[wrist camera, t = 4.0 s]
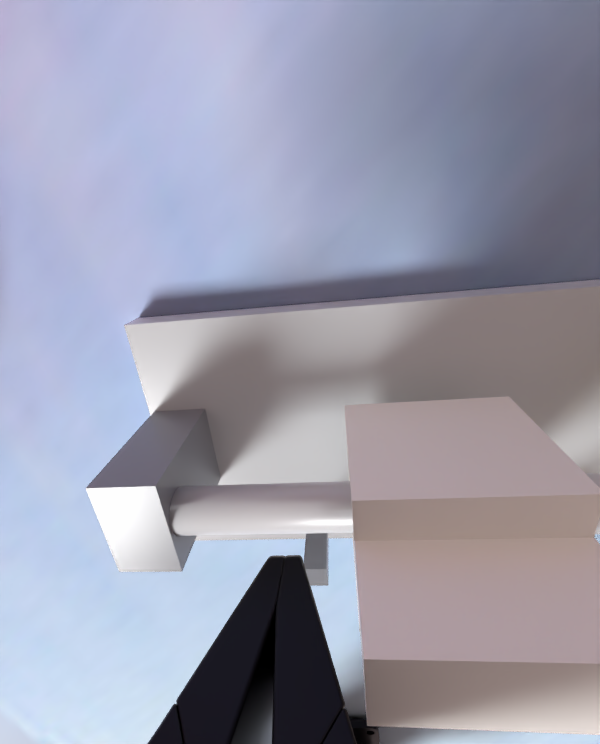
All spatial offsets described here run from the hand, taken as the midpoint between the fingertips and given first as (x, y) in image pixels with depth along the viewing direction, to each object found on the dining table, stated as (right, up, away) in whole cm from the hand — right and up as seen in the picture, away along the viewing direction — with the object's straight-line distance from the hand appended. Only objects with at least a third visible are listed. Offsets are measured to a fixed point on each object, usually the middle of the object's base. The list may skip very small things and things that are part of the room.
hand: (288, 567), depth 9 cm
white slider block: (+4, +2, +3) cm, 6 cm away
